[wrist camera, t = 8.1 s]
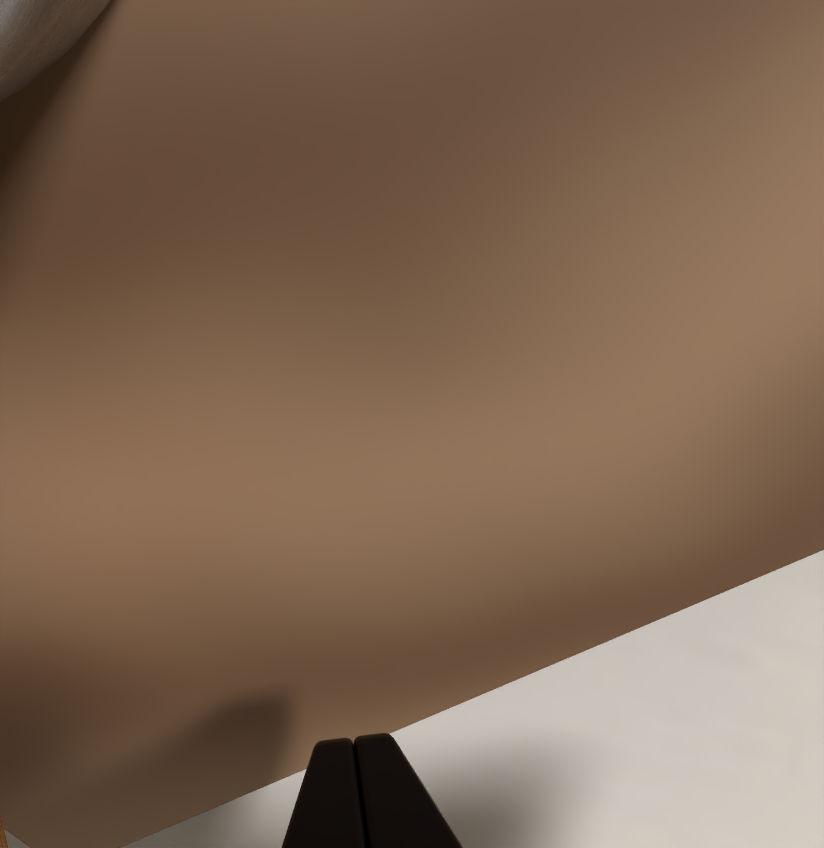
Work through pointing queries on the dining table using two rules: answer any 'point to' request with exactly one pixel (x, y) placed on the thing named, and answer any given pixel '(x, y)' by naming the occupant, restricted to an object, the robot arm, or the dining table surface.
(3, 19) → the wood-handled metal tool
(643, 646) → the dining table surface
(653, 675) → the dining table surface
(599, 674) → the dining table surface
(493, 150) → the base plate
